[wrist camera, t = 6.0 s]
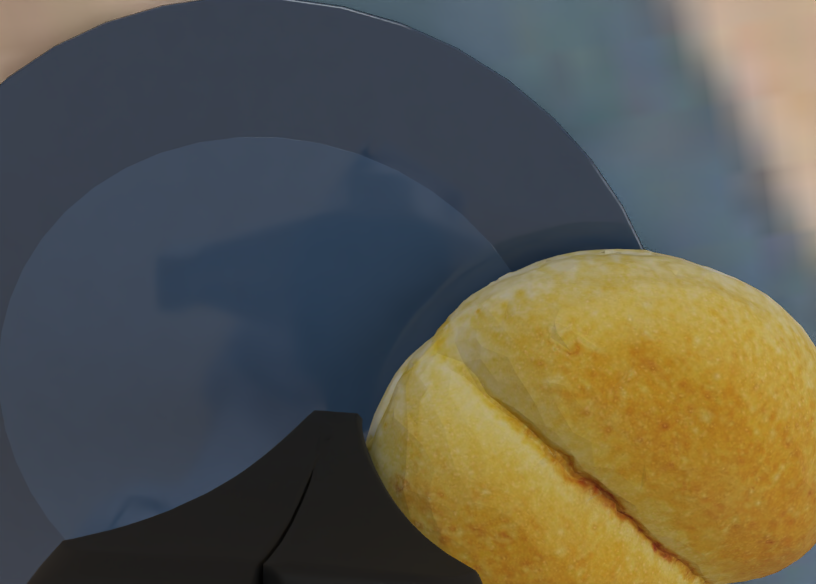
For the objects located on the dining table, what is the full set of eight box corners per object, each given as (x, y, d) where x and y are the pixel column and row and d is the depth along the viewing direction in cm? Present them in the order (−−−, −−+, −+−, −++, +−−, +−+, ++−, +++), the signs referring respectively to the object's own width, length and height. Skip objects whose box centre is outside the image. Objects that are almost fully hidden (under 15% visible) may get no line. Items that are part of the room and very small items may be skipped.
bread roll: (869, 423, 15) (1019, 544, 11) (548, 651, 17) (583, 818, 13) (626, 138, 13) (706, 167, 10) (300, 427, 15) (260, 546, 12)
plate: (600, 727, 18) (605, 745, 18) (-52, 677, 19) (-65, 694, 18) (738, 32, 13) (751, 31, 13) (-164, -34, 13) (-187, -38, 13)
